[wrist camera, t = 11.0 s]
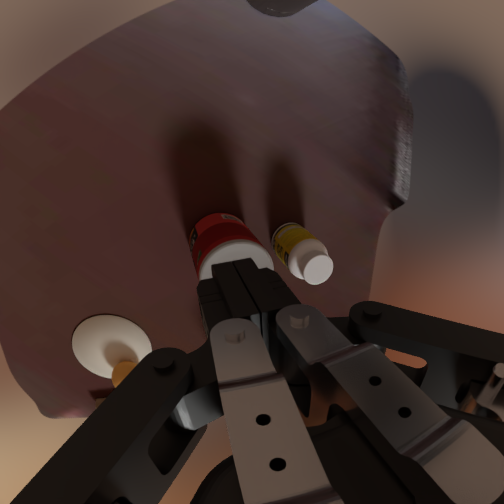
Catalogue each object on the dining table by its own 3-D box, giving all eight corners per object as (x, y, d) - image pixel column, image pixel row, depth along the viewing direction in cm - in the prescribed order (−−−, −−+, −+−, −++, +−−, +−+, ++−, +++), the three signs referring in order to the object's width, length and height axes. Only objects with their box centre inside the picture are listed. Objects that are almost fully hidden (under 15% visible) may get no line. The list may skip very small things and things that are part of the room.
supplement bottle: (263, 235, 44) (291, 265, 36) (296, 214, 45) (330, 239, 36) (280, 263, 47) (308, 297, 38) (310, 244, 47) (344, 273, 39)
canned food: (179, 225, 40) (187, 260, 31) (236, 201, 41) (262, 228, 32) (201, 273, 44) (215, 318, 34) (253, 250, 45) (282, 289, 35)
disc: (60, 321, 40) (60, 322, 40) (139, 308, 43) (139, 309, 43) (89, 381, 46) (89, 382, 46) (160, 371, 49) (160, 372, 49)
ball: (109, 358, 46) (103, 374, 41) (140, 352, 47) (137, 369, 42) (120, 385, 47) (116, 403, 42) (150, 380, 48) (148, 398, 43)
